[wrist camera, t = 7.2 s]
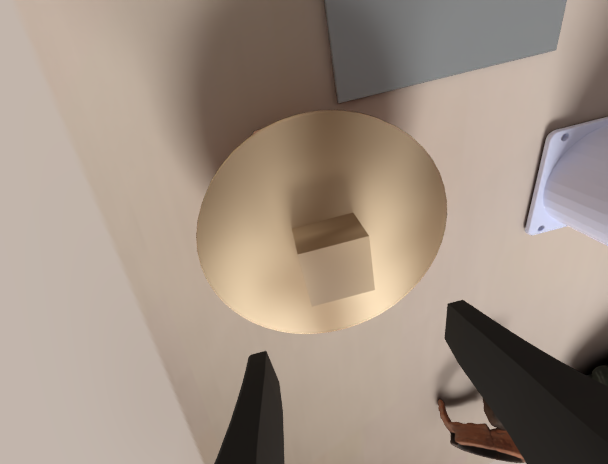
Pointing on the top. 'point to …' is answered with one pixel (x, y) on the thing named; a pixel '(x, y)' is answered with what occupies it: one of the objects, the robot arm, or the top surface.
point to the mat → (432, 39)
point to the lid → (321, 222)
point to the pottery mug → (482, 437)
